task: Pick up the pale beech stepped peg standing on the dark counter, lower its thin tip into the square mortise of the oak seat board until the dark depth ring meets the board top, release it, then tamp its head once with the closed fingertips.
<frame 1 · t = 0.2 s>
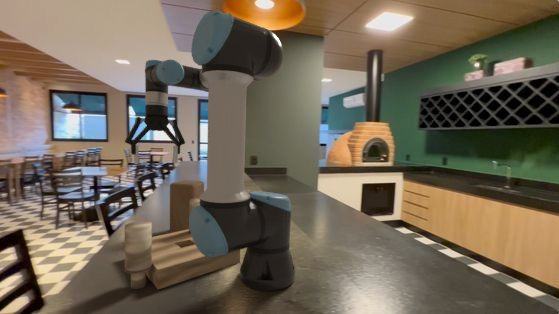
hand: (156, 163, 100), 28 cm above the countertop, fingers open, 13 cm apart
peg: (138, 285, 68), on the countertop
seat board: (185, 259, 83), on the countertop
block: (187, 232, 108), on the countertop
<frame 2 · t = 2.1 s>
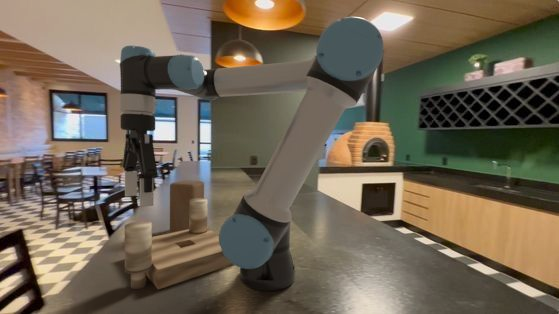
hand: (138, 200, 67), 22 cm above the countertop, fingers open, 13 cm apart
nothing on the countertop moved.
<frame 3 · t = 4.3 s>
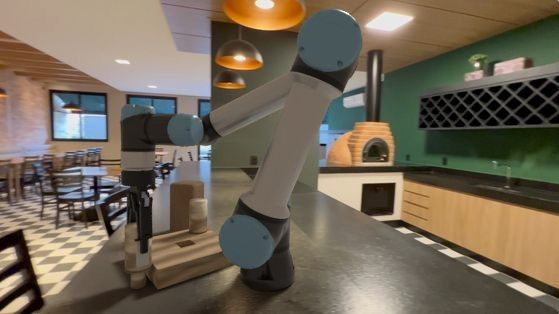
hand: (138, 260, 68), 6 cm above the countertop, fingers closed on peg, 6 cm apart
peg: (138, 285, 68), on the countertop, touching gripper
everything else where it was.
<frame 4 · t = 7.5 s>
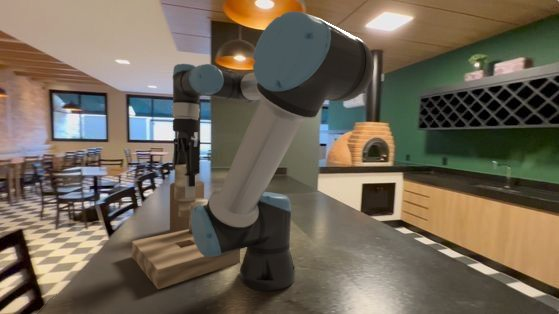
hand: (185, 195, 82), 20 cm above the countertop, fingers closed on peg, 6 cm apart
peg: (184, 215, 83), point 14 cm above the countertop, touching gripper
everything else where it was.
when the fingers open (7 cm above the countertop, at t = 10.7 s): peg stays where it is, resting on seat board.
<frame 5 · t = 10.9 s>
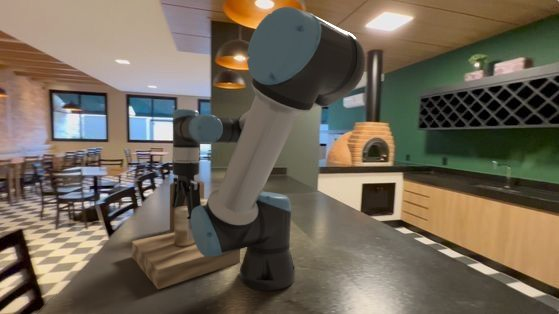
hand: (185, 234, 83), 8 cm above the countertop, fingers open, 9 cm apart
peg: (184, 258, 83), resting on seat board
everything else where it was.
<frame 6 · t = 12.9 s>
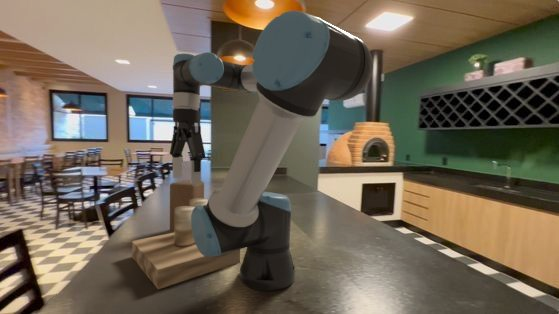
hand: (185, 180, 82), 25 cm above the countertop, fingers open, 12 cm apart
nothing on the countertop moved.
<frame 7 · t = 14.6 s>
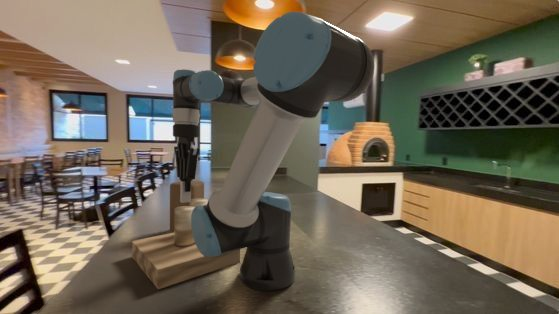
hand: (185, 201, 82), 18 cm above the countertop, fingers closed
nothing on the countertop moved.
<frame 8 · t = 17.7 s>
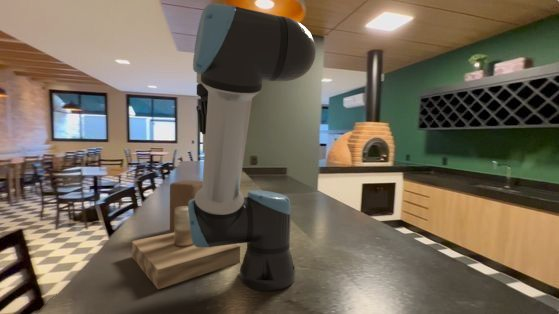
hand: (207, 152, 95), 32 cm above the countertop, fingers closed
nothing on the countertop moved.
at the end: peg 0.2 cm off-centre on the seat board, point 0.5 cm above the seat board's base; peg tilted 0°; the gripper is holding nothing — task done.
